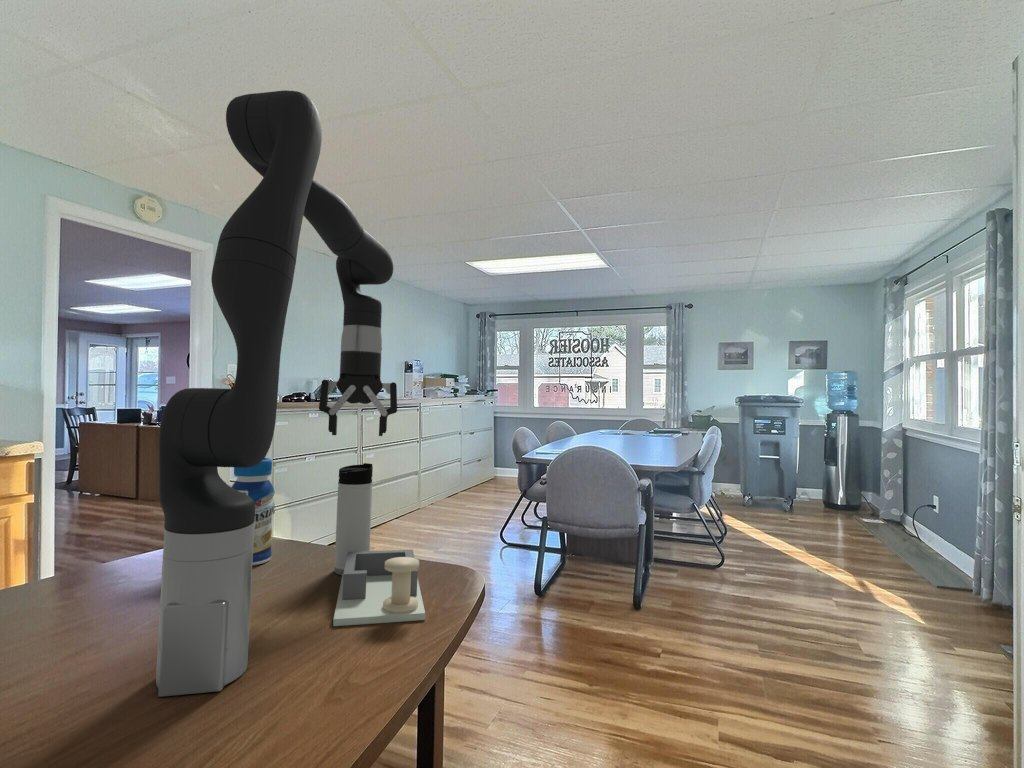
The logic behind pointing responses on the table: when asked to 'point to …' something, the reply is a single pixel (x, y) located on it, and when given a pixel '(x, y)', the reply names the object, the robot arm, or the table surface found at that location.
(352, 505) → the travel mug
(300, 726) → the table surface
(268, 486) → the beverage bottle
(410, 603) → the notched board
